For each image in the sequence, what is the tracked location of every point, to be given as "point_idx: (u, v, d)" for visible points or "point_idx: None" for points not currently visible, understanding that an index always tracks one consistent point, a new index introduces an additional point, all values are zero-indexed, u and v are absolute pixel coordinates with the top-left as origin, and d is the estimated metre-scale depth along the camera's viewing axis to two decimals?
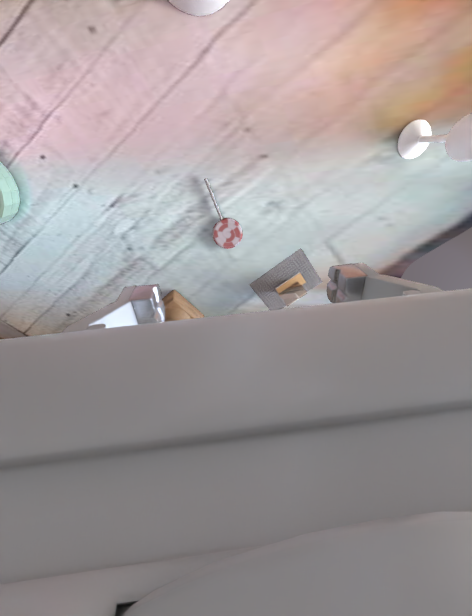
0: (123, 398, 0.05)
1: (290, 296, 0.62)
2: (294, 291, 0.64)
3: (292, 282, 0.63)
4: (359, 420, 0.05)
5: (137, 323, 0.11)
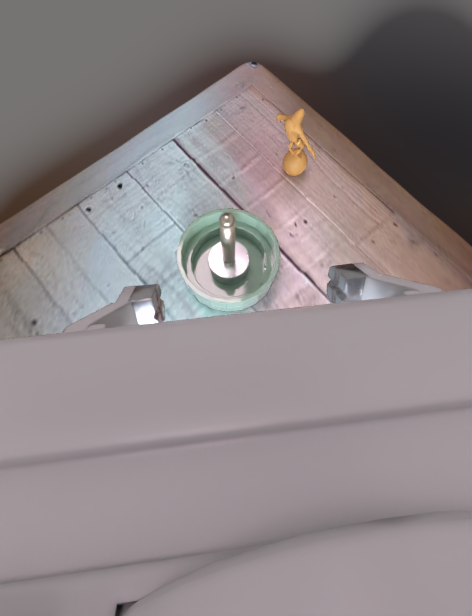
0: (123, 398, 0.05)
1: None
2: None
3: None
4: (359, 420, 0.05)
5: (137, 323, 0.11)
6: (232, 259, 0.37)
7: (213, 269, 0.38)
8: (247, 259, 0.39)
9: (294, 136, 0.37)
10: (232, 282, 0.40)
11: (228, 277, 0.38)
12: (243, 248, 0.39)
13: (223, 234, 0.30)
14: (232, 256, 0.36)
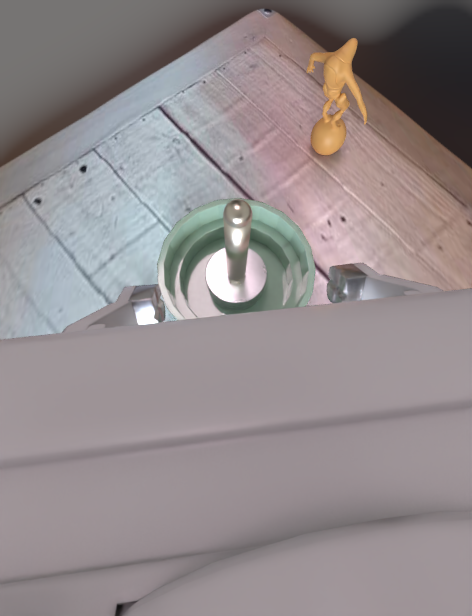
0: (123, 398, 0.05)
1: None
2: None
3: None
4: (359, 419, 0.05)
5: (137, 323, 0.11)
6: (242, 275, 0.24)
7: (213, 289, 0.25)
8: (264, 274, 0.26)
9: (337, 87, 0.24)
10: (240, 307, 0.27)
11: (235, 301, 0.25)
12: (257, 258, 0.26)
13: (231, 239, 0.18)
14: (243, 270, 0.23)
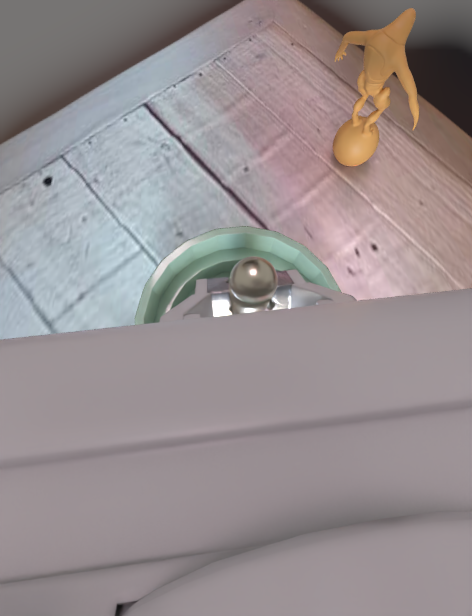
0: (123, 399, 0.05)
1: None
2: None
3: None
4: (359, 420, 0.05)
5: (213, 315, 0.11)
6: None
7: None
8: None
9: (380, 80, 0.18)
10: None
11: None
12: None
13: (240, 311, 0.11)
14: None
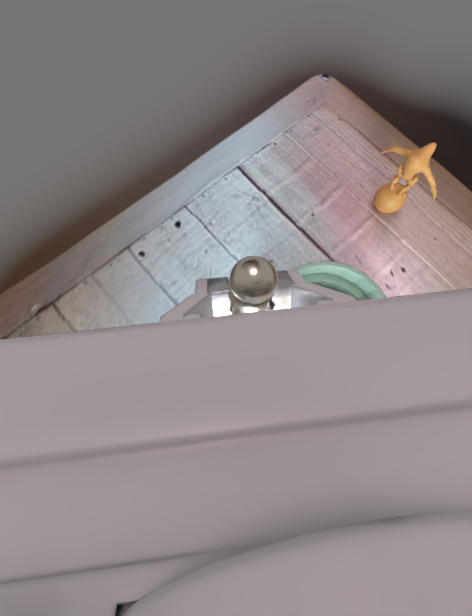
0: (123, 399, 0.05)
1: None
2: None
3: None
4: (358, 419, 0.05)
5: (213, 315, 0.11)
6: None
7: None
8: None
9: (413, 174, 0.29)
10: None
11: None
12: None
13: (240, 310, 0.11)
14: None
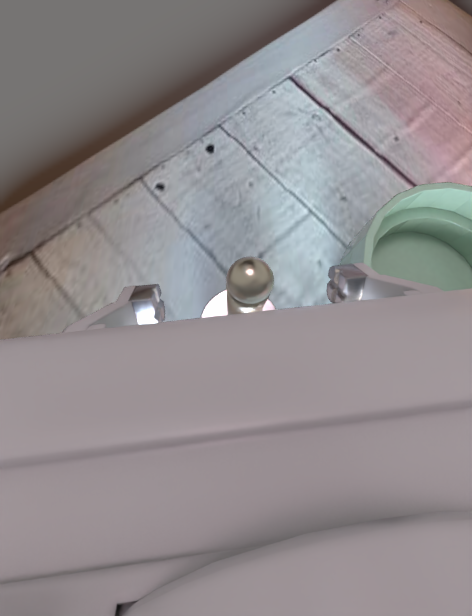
0: (123, 399, 0.05)
1: None
2: None
3: None
4: (358, 419, 0.05)
5: (137, 323, 0.11)
6: None
7: None
8: None
9: None
10: None
11: None
12: (268, 305, 0.20)
13: (237, 310, 0.11)
14: None
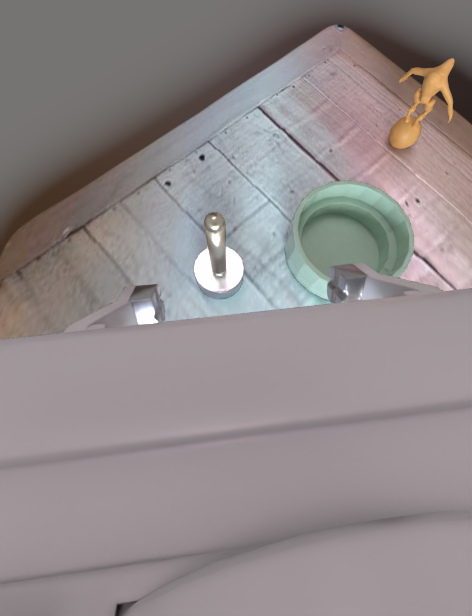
0: (123, 399, 0.05)
1: None
2: None
3: None
4: (358, 419, 0.05)
5: (137, 323, 0.11)
6: (223, 269, 0.30)
7: (200, 281, 0.31)
8: (241, 269, 0.32)
9: (431, 95, 0.31)
10: (223, 296, 0.33)
11: (218, 290, 0.31)
12: (236, 255, 0.32)
13: (210, 240, 0.24)
14: (223, 265, 0.29)
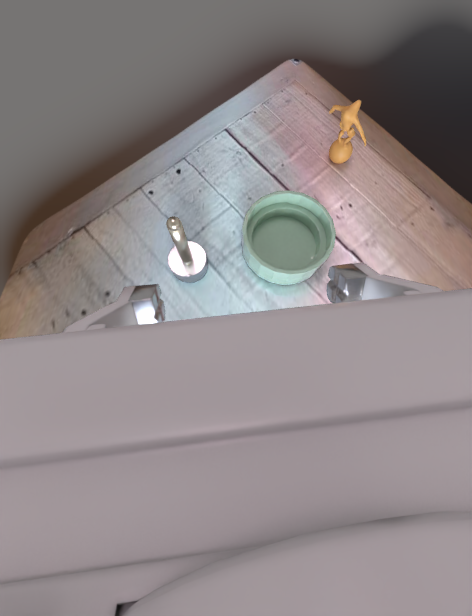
0: (123, 398, 0.05)
1: None
2: None
3: None
4: (358, 420, 0.05)
5: (137, 323, 0.11)
6: (189, 259, 0.40)
7: (172, 268, 0.41)
8: (204, 259, 0.42)
9: (348, 125, 0.41)
10: (191, 280, 0.43)
11: (185, 275, 0.41)
12: (201, 249, 0.42)
13: (173, 236, 0.34)
14: (188, 256, 0.39)
